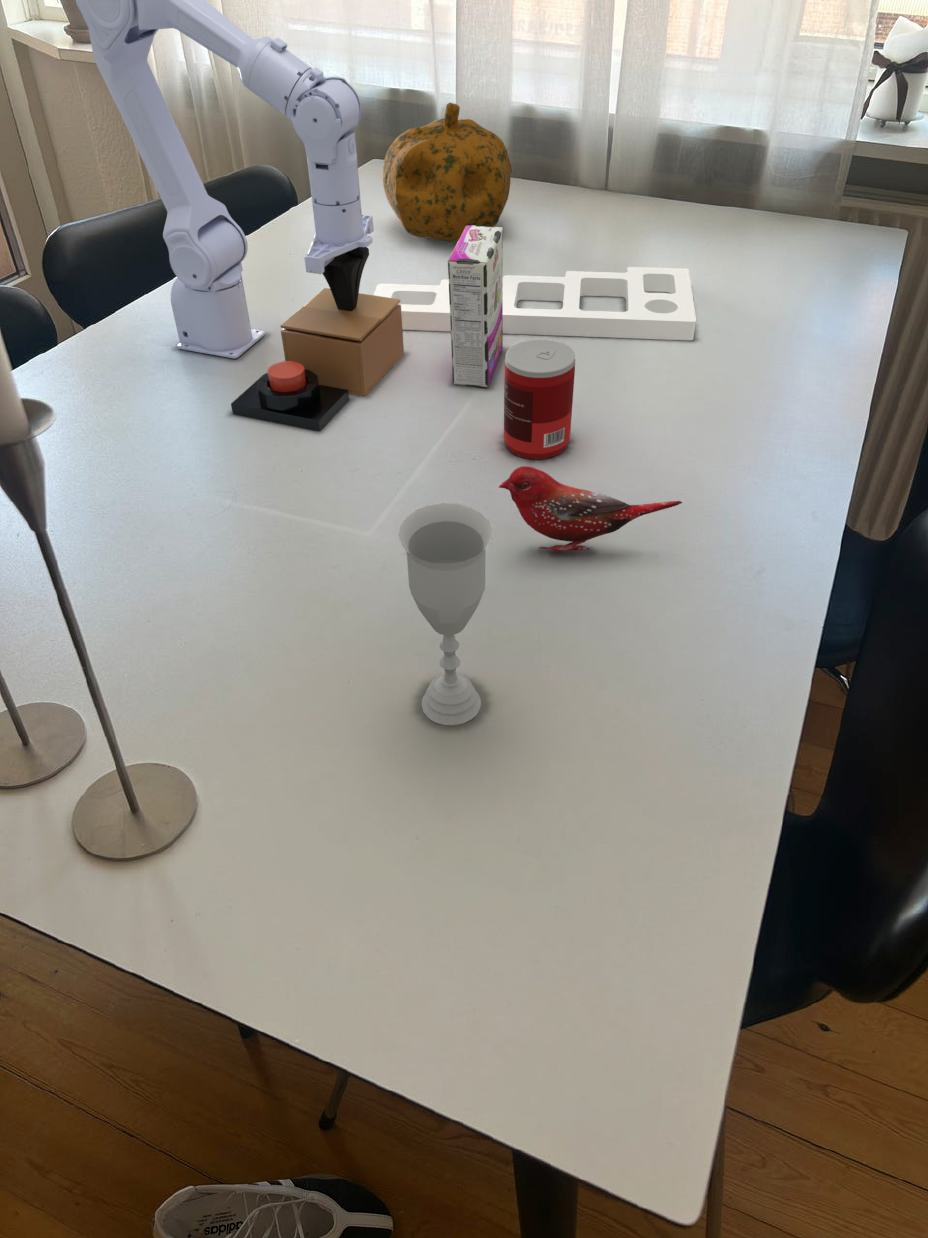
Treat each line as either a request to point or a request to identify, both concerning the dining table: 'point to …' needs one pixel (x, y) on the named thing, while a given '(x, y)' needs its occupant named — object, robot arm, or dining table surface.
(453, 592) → the chalice
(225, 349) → the robot arm
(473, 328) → the candy bar box
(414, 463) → the dining table surface
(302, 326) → the carton
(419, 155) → the decorative pumpkin
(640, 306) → the holder
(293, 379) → the button
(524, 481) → the decorative bird figurine
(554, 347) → the canned food
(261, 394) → the block
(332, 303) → the flap
